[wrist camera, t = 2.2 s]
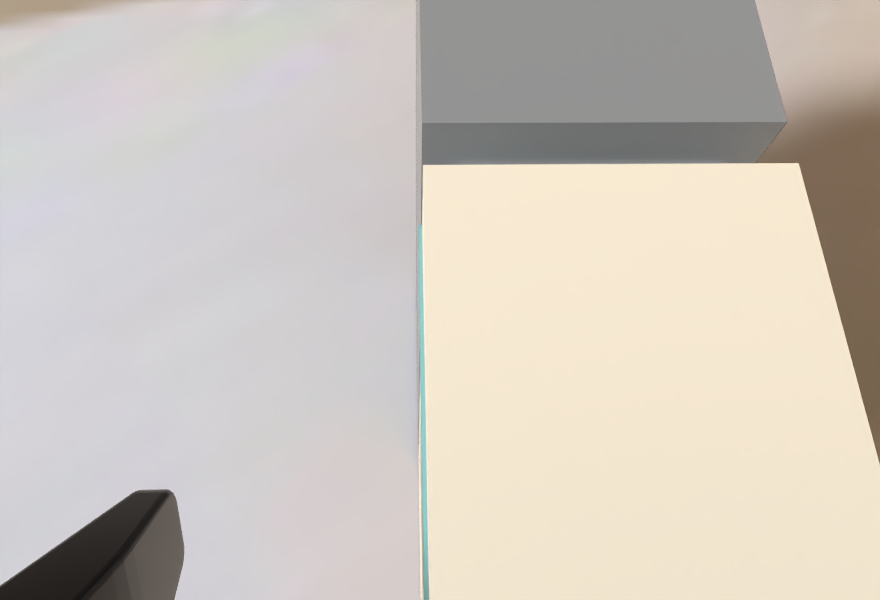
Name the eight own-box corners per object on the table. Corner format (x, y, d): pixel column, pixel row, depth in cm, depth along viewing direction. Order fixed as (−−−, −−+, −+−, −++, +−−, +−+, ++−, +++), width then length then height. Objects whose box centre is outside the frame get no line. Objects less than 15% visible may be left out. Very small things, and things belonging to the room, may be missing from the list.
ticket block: (541, 443, 17) (788, 127, 6) (418, 446, 17) (422, 127, 6) (528, 292, 19) (703, -192, 7) (416, 293, 19) (415, -197, 7)
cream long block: (560, 643, 15) (962, 754, 4) (420, 647, 15) (429, 772, 4) (545, 455, 17) (800, 160, 6) (417, 458, 17) (419, 162, 6)
